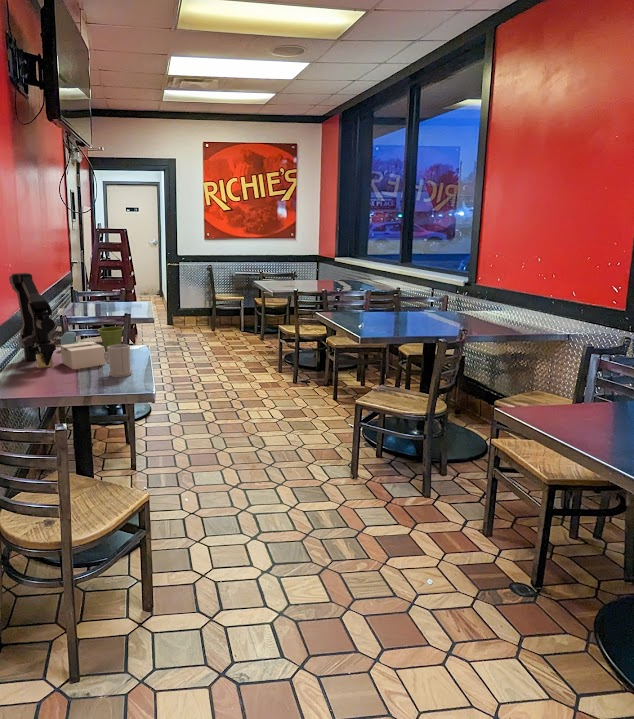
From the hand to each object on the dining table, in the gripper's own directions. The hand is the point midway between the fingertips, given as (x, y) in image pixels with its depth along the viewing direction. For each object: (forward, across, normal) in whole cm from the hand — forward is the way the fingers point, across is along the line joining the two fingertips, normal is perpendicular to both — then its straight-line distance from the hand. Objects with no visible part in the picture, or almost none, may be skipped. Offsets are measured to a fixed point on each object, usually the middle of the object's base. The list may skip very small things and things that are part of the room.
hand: (44, 364), depth 278 cm
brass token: (+1, 0, 0) cm, 1 cm away
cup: (+1, +35, +20) cm, 40 cm away
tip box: (+1, +5, +15) cm, 16 cm away
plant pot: (+2, -12, +34) cm, 36 cm away
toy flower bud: (+2, -31, +22) cm, 38 cm away
